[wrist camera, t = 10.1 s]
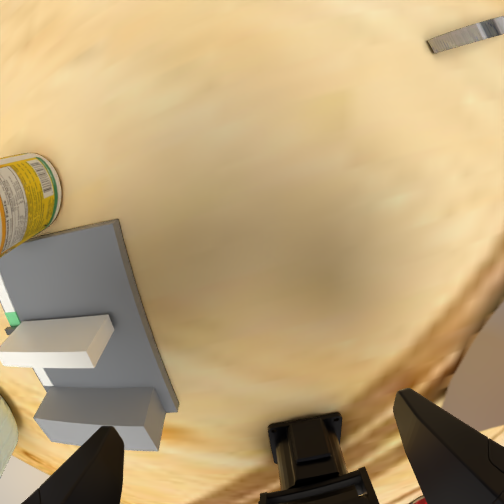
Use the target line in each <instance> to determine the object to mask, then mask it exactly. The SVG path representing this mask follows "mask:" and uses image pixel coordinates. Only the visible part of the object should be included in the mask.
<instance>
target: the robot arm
mask: <svg viewBox="0 0 504 504" xmlns="http://www.w3.org/2000/svg"><path fill="white" fill-rule="evenodd" d="M393 412H394V416H395V419H396V423H397V426H398V429H399V433H400V436H401V439H402V443H403V446H404V449H405V452H406V455H407V457H408V459H409V462H410V464H411V466H412V469H413V471H414V473H415V476H416V478H417V481H418V483H419V485H420V488H421V490H422V493H423V495H424V497H425V500H426V502H427V504H504V447H503V446H501V445H500V444H498V443H496V442H495V441H493V440H491V439H488V437H486V436H485V435H483V434H481V433H480V432H478V431H477V430H475V429H473V428H472V427H470V426H469V425H467V424H465V423H464V422H462V421H461V420H459V419H457V418H456V417H454V416H453V415H451V414H450V413H448V412H447V411H445V410H443V409H442V408H440V407H439V406H437V405H436V404H434V403H432V402H431V401H429V400H428V399H426V398H425V397H423V396H422V395H420V394H419V393H417V392H415V391H414V390H412V389H411V388H405V389H402V390H399V391H398V392H397V393H396V397H395V402H394V406H393ZM341 425H342V417H341V414H340V413H334V414H329V415H325V416H320V417H314V418H309V419H304V420H298V421H292V422H286V423H279V424H273V425H270V426H269V427H268V433H269V439H270V444H271V449H272V454H273V459H274V463H275V464H278V469H279V477H280V485H281V491H276V492H271V493H267V492H266V493H260V501H259V502H258V504H379V502H378V499H377V496H376V494H375V491H374V489H373V486H372V484H371V481H370V478H369V476H368V473H367V471H366V468H365V467H362V468H359V470H356V471H353V472H350V473H348V471H347V468H346V465H345V461H344V458H343V455H342V451H341V448H340V437H341ZM123 465H124V441H123V439H122V438H121V436H120V435H119V433H118V432H117V430H116V429H115V427H113V426H101V427H100V428H99V429H98V430H97V431H96V432H95V433H94V434H93V435H92V436H91V437H90V438H89V439H88V440H87V441H86V442H85V443H84V444H83V445H82V446H81V447H80V448H79V449H78V450H77V451H76V452H75V453H74V454H73V455H72V456H71V457H70V458H69V459H68V460H67V461H65V462H64V463H63V464H62V465H61V466H60V467H59V468H58V469H57V470H56V471H55V472H54V473H53V474H52V475H51V476H50V477H49V478H48V479H47V480H46V481H45V482H44V483H43V484H42V485H41V486H40V488H38V489H37V490H36V491H35V492H34V493H33V494H32V495H30V497H28V498H27V499H26V500H25V501H24V502H23V503H21V504H120V498H121V492H122V484H123ZM362 494H363V495H362ZM359 495H361V496H359Z"/></svg>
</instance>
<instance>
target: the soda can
mask: <svg viewBox="0 0 504 504" xmlns="http://www.w3.org/2000/svg"><path fill="white" fill-rule="evenodd" d="M411 504H427V502H426V500H425V497H424V496H422V497H420V498H418V499H416V500H415V501H413V502H412V503H411Z"/></svg>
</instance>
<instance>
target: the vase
mask: <svg viewBox="0 0 504 504" xmlns="http://www.w3.org/2000/svg"><path fill="white" fill-rule="evenodd" d="M17 442H18V428H17V424H16V422H15V419H14V416H13V414H12V412H11V410H10V408H9V406H8V405H7V403H6V402H5V400H4V399H3V398H2V396H1V395H0V478H1V476H2V474H3V471H4V469H5V467H6V465H7V463H8V461H9V459H10V457H11V455H12V453H13V451H14V449H15V447H16V445H17Z"/></svg>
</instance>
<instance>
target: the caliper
mask: <svg viewBox="0 0 504 504" xmlns="http://www.w3.org/2000/svg"><path fill="white" fill-rule="evenodd" d="M503 34H504V17H503V16H502V17H498V18H493V19H490V20H486V21H483V22H480V23H476V24H473V25H470V26H466V27H463V28H460V29H457V30H454V31H451V32H449V33H446V34H443V35H440V36H437V37H435V38H432V39H429V40H428V42H429V44H430V46H431V47H432V49H433V51H434V53H438V52H441V51H444V50H448V49H451V48H455V47H459V46H462V45H466V44H469V43H473V42H476V41H480V40H484V39H487V38H490V37H494V36H498V35H503Z"/></svg>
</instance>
